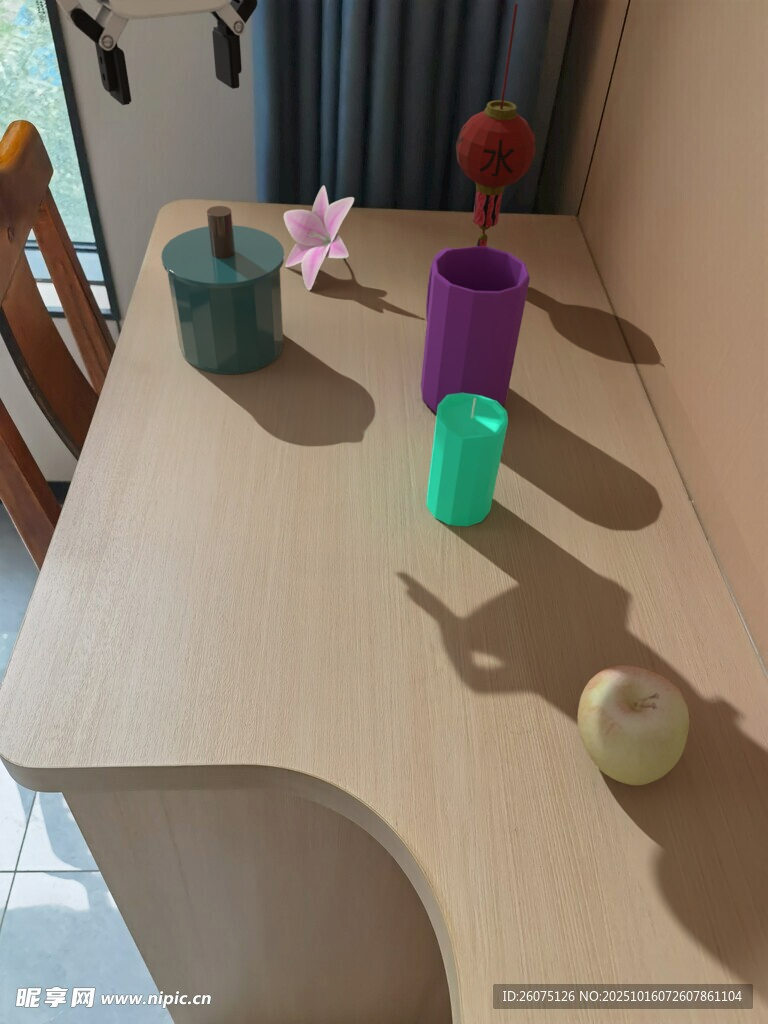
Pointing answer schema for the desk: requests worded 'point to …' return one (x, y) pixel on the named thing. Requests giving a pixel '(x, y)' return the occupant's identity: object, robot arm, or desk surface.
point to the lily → (316, 234)
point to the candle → (465, 458)
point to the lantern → (494, 153)
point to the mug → (472, 323)
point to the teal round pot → (229, 325)
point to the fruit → (633, 724)
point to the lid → (222, 254)
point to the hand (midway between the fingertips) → (175, 91)
